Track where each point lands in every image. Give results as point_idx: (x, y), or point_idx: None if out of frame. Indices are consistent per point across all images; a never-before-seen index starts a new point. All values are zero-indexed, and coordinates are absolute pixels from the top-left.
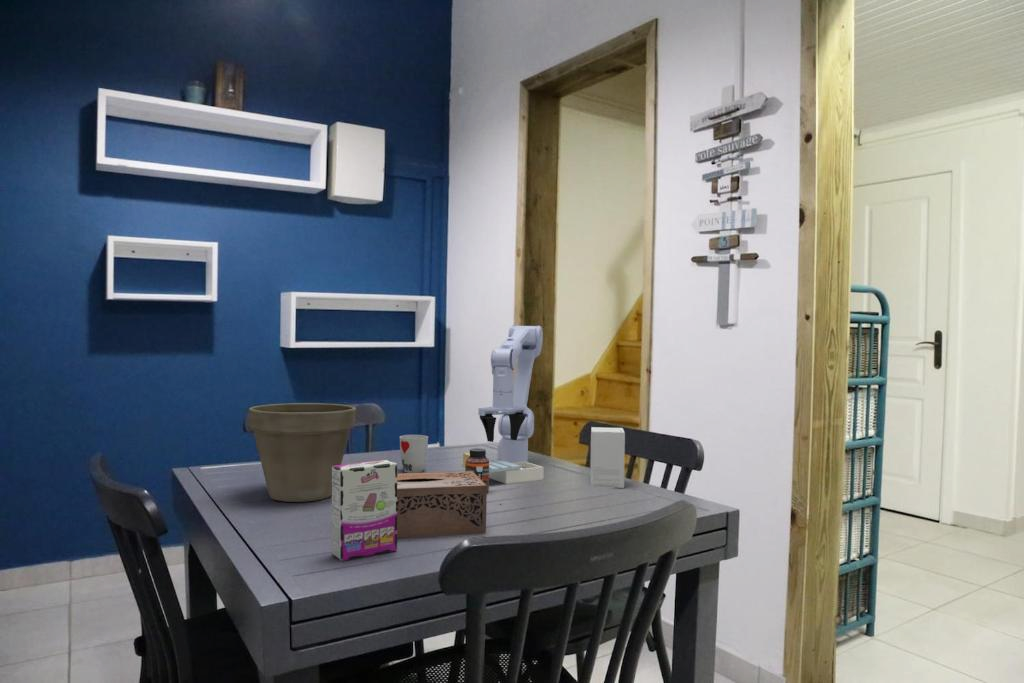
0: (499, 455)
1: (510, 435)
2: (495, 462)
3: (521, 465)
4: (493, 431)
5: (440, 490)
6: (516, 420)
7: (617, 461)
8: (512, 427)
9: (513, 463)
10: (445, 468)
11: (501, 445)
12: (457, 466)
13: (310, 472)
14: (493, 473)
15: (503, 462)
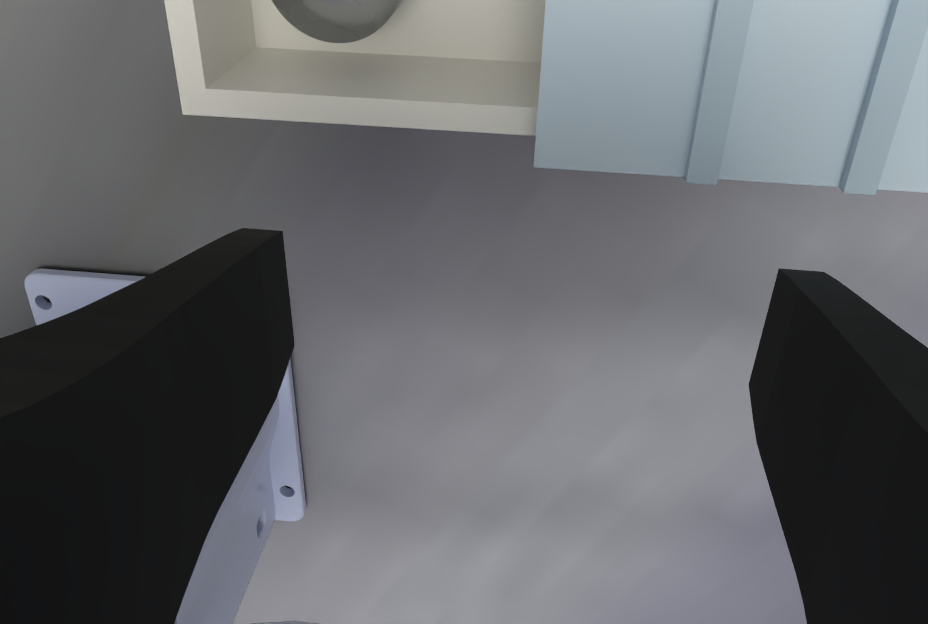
0: (248, 555)
1: (275, 397)
2: (740, 51)
3: (268, 80)
4: (876, 362)
5: None
6: (63, 482)
7: None
8: (197, 471)
9: (382, 97)
10: (709, 615)
11: (206, 618)
12: (581, 620)
13: None
14: None
15: (629, 2)
